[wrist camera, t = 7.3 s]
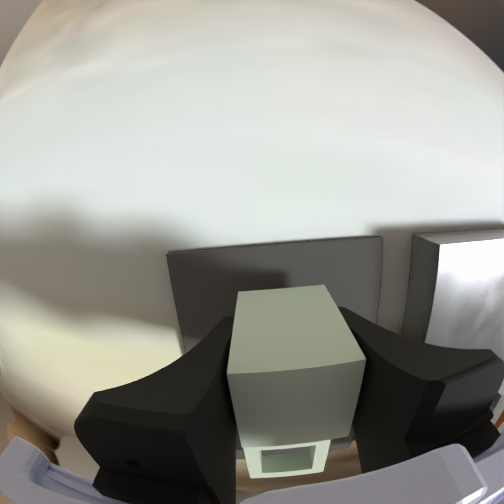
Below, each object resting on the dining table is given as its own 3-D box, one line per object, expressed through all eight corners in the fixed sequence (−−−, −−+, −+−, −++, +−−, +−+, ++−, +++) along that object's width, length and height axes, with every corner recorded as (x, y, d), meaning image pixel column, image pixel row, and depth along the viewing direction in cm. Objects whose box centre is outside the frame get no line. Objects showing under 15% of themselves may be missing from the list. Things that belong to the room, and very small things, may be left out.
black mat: (348, 443, 16) (349, 447, 16) (218, 455, 16) (217, 458, 16) (379, 236, 12) (382, 237, 12) (168, 252, 12) (166, 254, 12)
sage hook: (320, 455, 14) (330, 512, 10) (250, 461, 15) (249, 520, 10) (339, 283, 11) (388, 354, 6) (222, 292, 11) (200, 374, 6)
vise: (465, 404, 16) (497, 448, 9) (372, 438, 16) (395, 500, 10) (515, 227, 12) (582, 250, 5) (412, 233, 12) (503, 274, 6)
